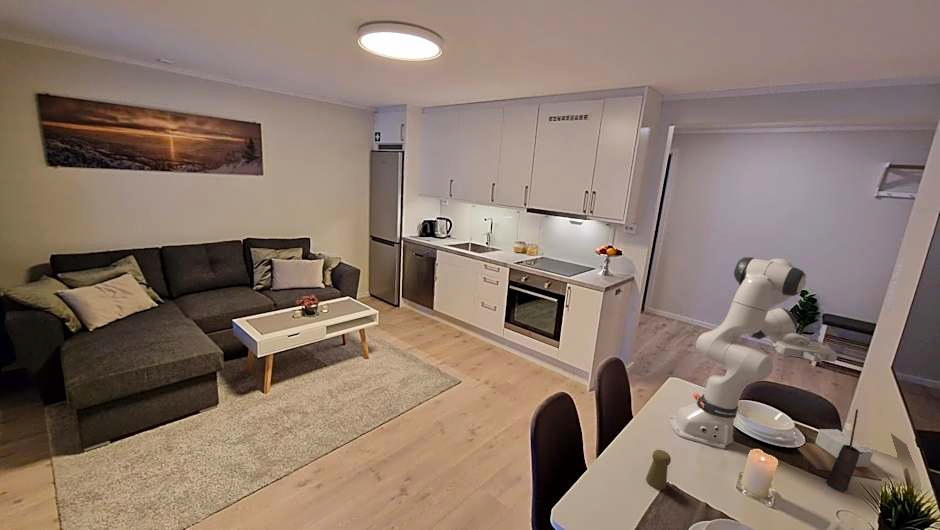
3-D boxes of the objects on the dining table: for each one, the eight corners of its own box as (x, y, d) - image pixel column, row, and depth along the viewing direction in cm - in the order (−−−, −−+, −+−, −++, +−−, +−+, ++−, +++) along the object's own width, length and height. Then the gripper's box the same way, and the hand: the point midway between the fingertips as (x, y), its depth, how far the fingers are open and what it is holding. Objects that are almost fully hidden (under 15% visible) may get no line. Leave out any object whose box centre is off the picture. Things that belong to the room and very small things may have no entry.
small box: (814, 442, 154) (848, 467, 142) (819, 428, 153) (853, 451, 140) (833, 443, 155) (868, 467, 143) (837, 429, 154) (874, 452, 141)
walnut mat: (816, 469, 140) (817, 468, 140) (790, 441, 155) (790, 440, 155) (880, 480, 137) (881, 479, 137) (847, 450, 152) (847, 449, 152)
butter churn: (867, 499, 128) (896, 423, 122) (843, 500, 127) (871, 424, 120) (838, 477, 137) (863, 405, 130) (815, 478, 136) (839, 406, 129)
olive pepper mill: (667, 492, 124) (674, 462, 121) (646, 485, 126) (653, 456, 123) (665, 479, 130) (672, 450, 127) (645, 472, 131) (651, 444, 129)
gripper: (770, 334, 168) (790, 348, 155) (824, 341, 165) (849, 356, 152) (766, 348, 169) (786, 363, 156) (820, 355, 166) (844, 371, 153)
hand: (817, 360), depth 154 cm, fingers closed
